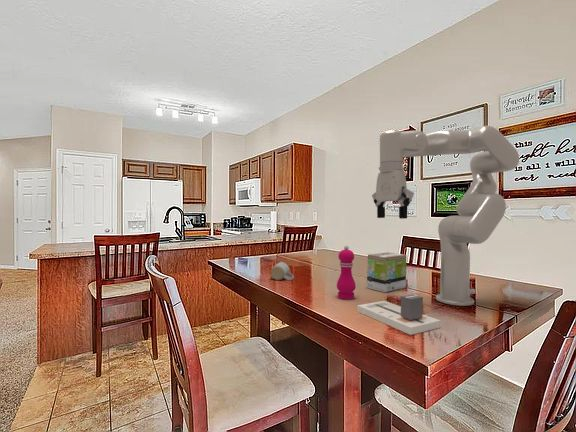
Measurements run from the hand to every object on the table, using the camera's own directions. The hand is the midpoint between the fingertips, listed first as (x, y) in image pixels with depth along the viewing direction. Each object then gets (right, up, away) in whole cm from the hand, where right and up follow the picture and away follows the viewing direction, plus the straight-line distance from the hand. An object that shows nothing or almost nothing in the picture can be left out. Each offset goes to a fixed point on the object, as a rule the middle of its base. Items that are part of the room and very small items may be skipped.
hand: (391, 218), depth 107 cm
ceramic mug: (-38, -30, +44) cm, 66 cm away
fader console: (-2, -31, -11) cm, 33 cm away
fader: (0, -29, -16) cm, 33 cm away
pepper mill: (-13, -31, +13) cm, 36 cm away
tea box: (+7, -31, +28) cm, 42 cm away
